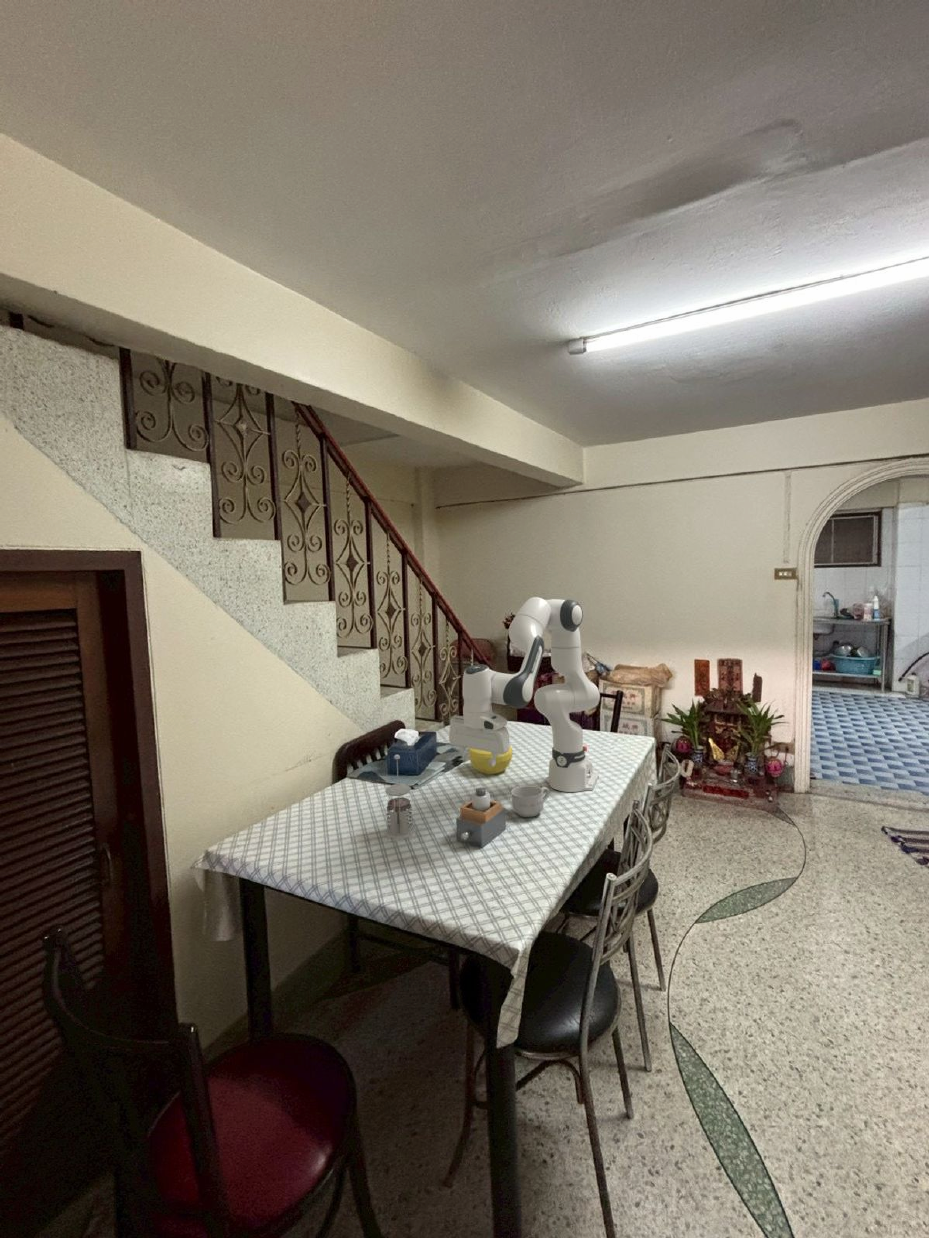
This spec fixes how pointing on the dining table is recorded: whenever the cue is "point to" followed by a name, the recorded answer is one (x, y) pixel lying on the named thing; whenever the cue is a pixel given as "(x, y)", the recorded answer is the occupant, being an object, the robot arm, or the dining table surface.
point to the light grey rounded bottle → (481, 800)
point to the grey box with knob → (480, 824)
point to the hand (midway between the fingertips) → (479, 762)
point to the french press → (399, 811)
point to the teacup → (528, 800)
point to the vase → (481, 759)
